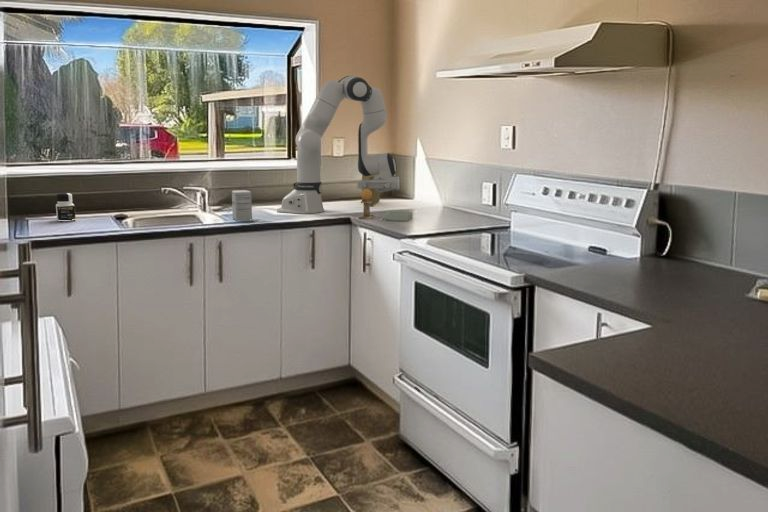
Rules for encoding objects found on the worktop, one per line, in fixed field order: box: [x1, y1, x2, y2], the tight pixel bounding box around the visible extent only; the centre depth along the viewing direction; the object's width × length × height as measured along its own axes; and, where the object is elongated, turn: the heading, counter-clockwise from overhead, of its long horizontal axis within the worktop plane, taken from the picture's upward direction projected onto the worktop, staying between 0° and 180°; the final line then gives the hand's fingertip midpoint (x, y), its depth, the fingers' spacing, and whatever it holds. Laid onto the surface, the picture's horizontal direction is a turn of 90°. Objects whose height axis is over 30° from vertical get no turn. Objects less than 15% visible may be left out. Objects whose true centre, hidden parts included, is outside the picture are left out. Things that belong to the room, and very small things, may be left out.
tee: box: [358, 199, 376, 220], centre depth 335 cm, size 6×6×8 cm
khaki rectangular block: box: [361, 174, 381, 207], centre depth 383 cm, size 22×10×15 cm, turn 1°
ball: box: [360, 189, 372, 200], centre depth 334 cm, size 5×5×5 cm
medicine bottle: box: [55, 192, 77, 220], centre depth 323 cm, size 7×7×12 cm
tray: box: [384, 210, 413, 222], centre depth 332 cm, size 10×10×3 cm
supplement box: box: [231, 189, 253, 221], centre depth 329 cm, size 7×7×13 cm
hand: (374, 186), depth 345 cm, fingers open, 8 cm apart
